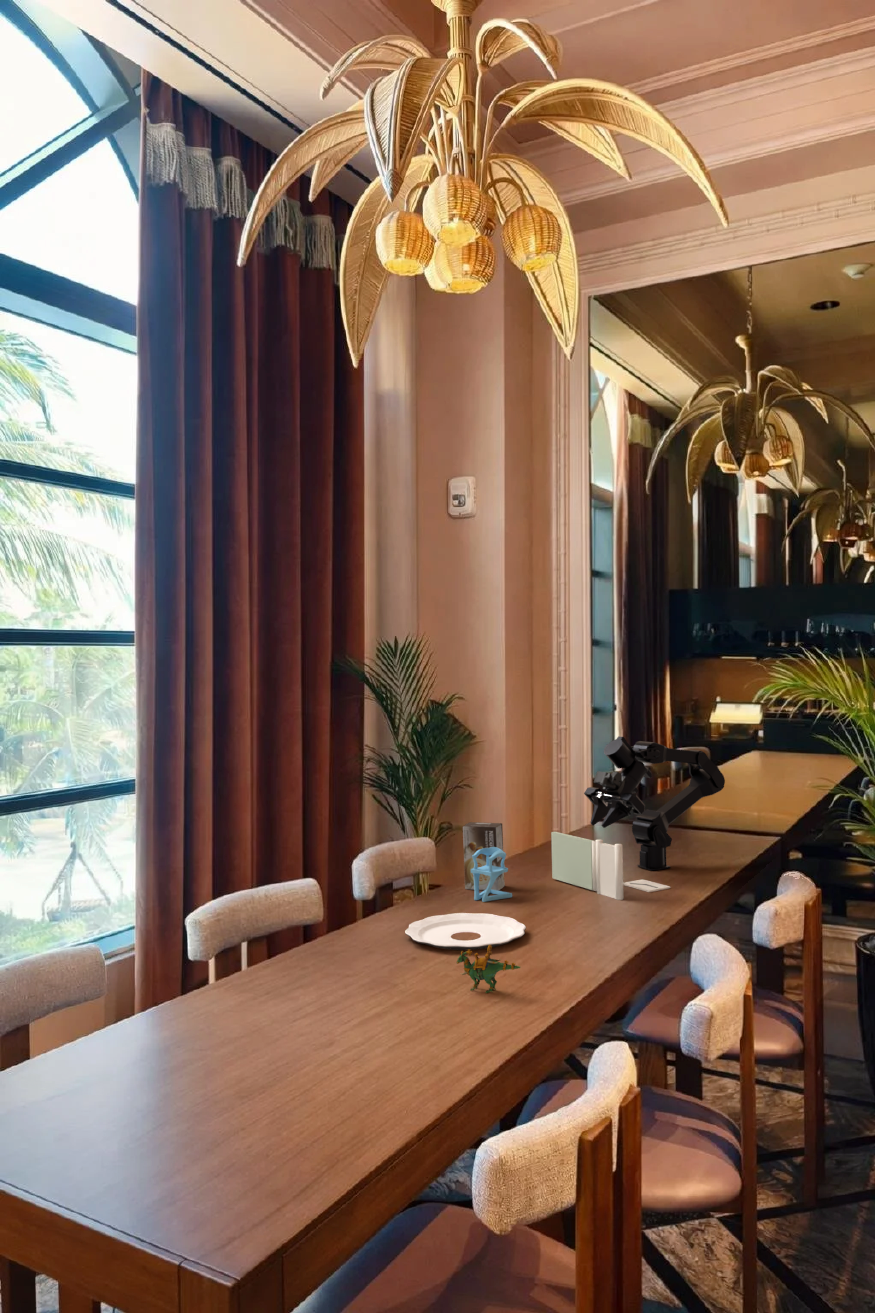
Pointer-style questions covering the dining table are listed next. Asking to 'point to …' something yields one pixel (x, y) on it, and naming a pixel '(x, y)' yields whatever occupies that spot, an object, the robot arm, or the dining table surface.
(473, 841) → the coffee box
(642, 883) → the card
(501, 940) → the plate
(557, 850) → the panel
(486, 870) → the chair
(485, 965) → the figurine
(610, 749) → the robot arm
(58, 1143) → the dining table surface
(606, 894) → the fence fixed section
